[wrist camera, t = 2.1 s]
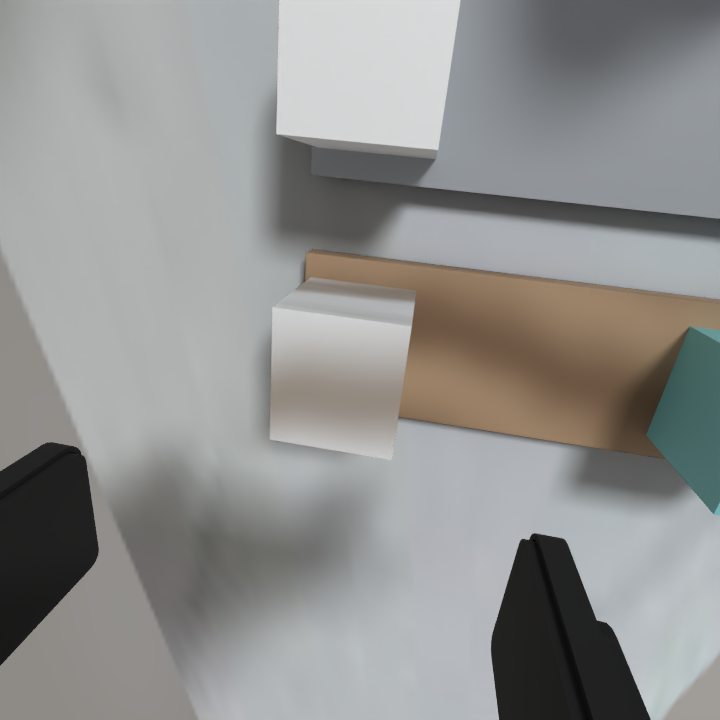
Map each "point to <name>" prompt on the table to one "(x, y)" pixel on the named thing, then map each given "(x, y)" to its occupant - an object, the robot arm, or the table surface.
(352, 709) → the table surface
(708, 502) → the teal cube
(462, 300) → the walnut strip
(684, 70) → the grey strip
